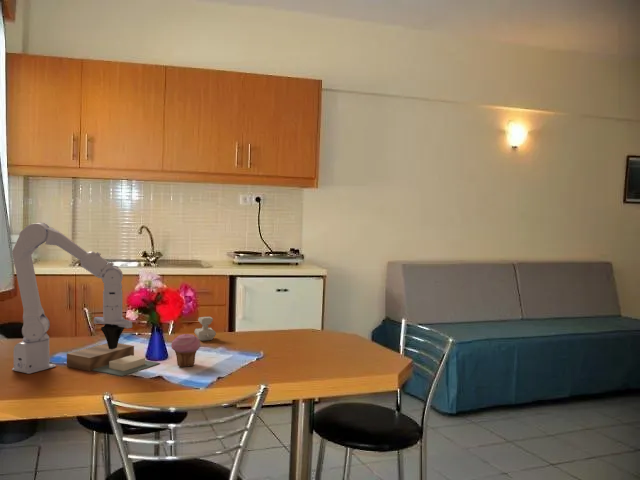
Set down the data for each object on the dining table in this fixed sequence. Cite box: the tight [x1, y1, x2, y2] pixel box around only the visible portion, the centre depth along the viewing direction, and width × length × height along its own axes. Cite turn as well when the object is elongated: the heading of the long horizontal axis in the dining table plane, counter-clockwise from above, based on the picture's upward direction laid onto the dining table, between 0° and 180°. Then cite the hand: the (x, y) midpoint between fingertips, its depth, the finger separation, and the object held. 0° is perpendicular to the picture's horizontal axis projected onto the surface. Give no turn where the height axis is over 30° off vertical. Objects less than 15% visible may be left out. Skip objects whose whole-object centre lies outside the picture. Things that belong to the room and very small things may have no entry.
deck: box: [66, 342, 135, 372], centre depth 189 cm, size 18×10×4 cm, turn 153°
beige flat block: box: [109, 355, 146, 371], centre depth 184 cm, size 9×6×2 cm, turn 153°
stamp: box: [194, 316, 217, 342], centre depth 222 cm, size 9×7×8 cm
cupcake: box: [171, 333, 201, 368], centre depth 187 cm, size 9×9×10 cm
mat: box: [92, 359, 161, 377], centre depth 184 cm, size 16×12×1 cm
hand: (112, 348), depth 187 cm, fingers closed
